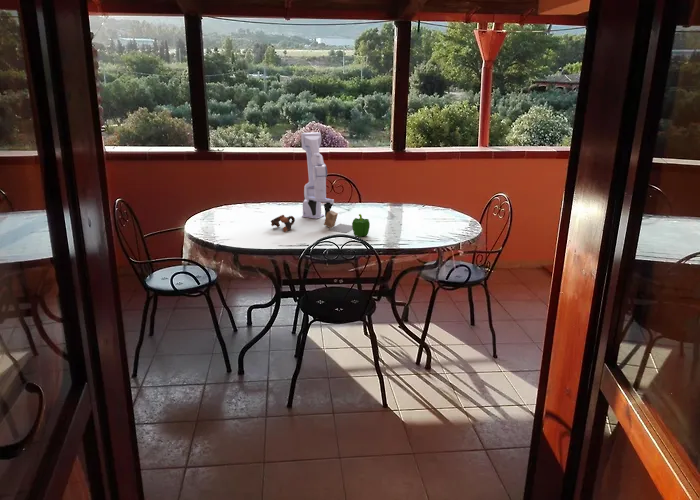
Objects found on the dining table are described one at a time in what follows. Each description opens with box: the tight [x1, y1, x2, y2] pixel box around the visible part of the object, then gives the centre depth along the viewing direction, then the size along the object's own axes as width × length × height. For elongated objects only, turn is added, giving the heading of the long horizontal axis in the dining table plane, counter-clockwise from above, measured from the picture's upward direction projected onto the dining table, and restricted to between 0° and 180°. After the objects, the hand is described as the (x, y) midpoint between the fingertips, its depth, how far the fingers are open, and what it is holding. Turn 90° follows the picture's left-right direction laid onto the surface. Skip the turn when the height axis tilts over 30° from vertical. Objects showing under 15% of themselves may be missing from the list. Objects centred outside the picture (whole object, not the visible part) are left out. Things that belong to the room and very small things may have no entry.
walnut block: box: [323, 209, 339, 229], centre depth 273 cm, size 4×4×7 cm
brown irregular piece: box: [270, 214, 296, 233], centre depth 270 cm, size 12×10×8 cm
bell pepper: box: [351, 213, 371, 237], centre depth 259 cm, size 8×8×10 cm
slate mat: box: [328, 223, 353, 234], centre depth 272 cm, size 10×12×1 cm
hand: (320, 216), depth 276 cm, fingers open, 7 cm apart
